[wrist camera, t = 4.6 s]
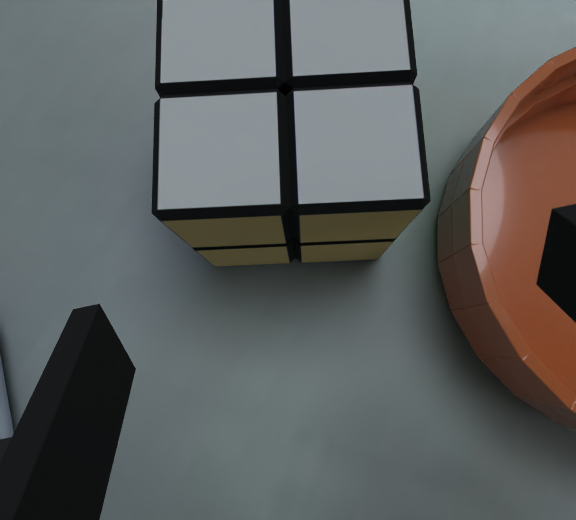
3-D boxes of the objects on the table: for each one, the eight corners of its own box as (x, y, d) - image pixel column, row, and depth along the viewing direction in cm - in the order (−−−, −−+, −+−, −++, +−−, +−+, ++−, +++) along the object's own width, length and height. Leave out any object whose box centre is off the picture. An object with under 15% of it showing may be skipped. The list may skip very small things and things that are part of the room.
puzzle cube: (209, 111, 26) (154, -23, 17) (369, 102, 26) (408, -40, 16) (210, 268, 25) (148, 220, 15) (382, 260, 24) (435, 206, 14)
